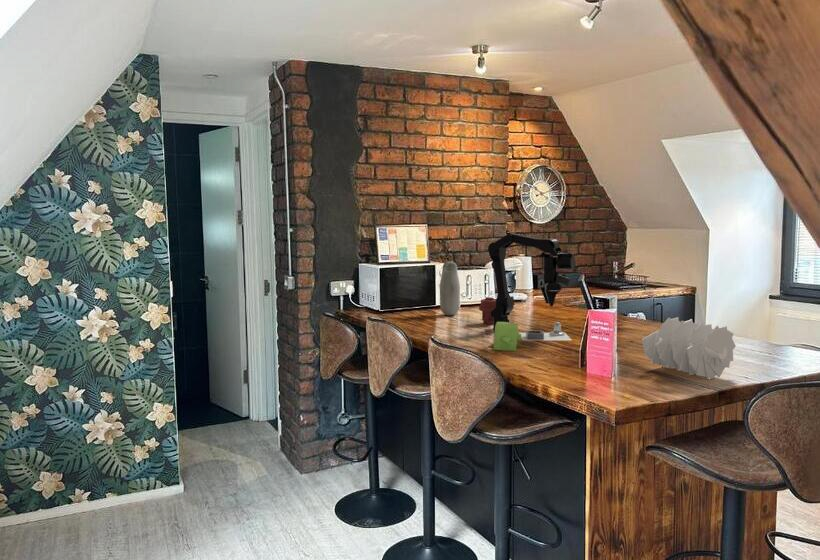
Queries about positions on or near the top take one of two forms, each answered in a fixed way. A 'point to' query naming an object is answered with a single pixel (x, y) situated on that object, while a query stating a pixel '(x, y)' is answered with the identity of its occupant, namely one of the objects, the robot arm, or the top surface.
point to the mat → (550, 337)
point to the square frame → (534, 335)
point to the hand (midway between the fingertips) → (549, 304)
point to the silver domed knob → (557, 330)
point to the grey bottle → (449, 289)
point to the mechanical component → (487, 309)
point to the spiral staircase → (690, 347)
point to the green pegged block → (506, 336)
